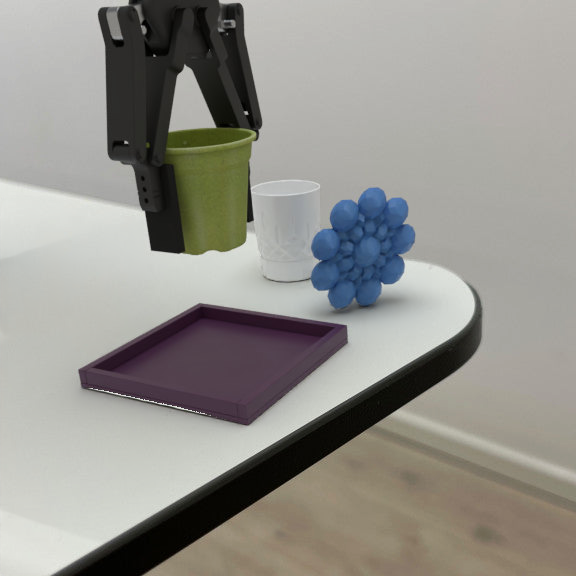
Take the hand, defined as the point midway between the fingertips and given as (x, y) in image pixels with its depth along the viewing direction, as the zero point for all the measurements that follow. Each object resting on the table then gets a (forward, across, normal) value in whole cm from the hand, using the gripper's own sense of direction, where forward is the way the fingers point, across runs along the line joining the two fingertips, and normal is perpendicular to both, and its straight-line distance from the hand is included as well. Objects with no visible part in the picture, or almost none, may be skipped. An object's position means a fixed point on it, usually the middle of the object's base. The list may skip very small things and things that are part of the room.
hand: (205, 234), depth 62 cm
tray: (+12, 0, 0) cm, 12 cm away
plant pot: (+1, 0, 0) cm, 1 cm away
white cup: (+12, +24, +7) cm, 28 cm away
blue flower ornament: (+12, +18, -5) cm, 22 cm away
